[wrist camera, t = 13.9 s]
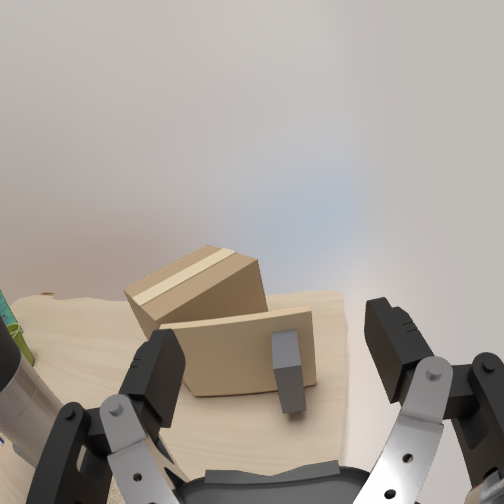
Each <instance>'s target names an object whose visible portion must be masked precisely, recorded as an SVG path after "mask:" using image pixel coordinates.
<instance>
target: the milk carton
mask: <svg viewBox="0 0 504 504" xmlns="http://www.w3.org/2000/svg"><path fill="white" fill-rule="evenodd" d="M0 315H1V317H2V319H3V321H4V323H5V325H6V326H8V325H10V324H12V323H18V322H17V320H16V319H15V317H14V315H13V313H12V312H11V310H10V308H9V306H8V304H7V302H6V300H5V298H4V297H3V294H2V293H1V290H0ZM20 330H21V333H23V331H22V329H21V327H20Z"/></svg>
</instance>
